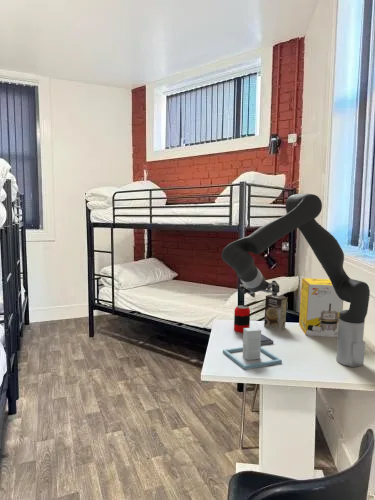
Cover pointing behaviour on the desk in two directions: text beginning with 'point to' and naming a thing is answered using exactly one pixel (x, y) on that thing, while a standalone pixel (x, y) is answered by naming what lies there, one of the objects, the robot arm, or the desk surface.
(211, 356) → the desk surface
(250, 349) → the skincare box
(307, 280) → the packaging box
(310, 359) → the desk surface
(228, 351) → the frame
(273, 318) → the coffee box
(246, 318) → the soda can
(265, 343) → the ink pad
